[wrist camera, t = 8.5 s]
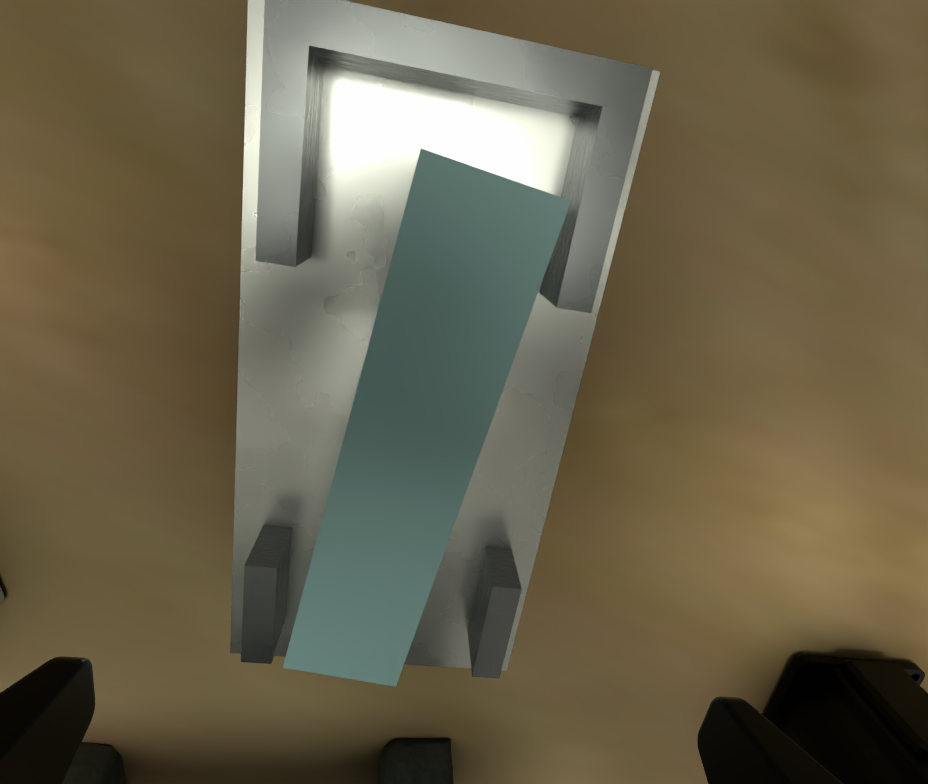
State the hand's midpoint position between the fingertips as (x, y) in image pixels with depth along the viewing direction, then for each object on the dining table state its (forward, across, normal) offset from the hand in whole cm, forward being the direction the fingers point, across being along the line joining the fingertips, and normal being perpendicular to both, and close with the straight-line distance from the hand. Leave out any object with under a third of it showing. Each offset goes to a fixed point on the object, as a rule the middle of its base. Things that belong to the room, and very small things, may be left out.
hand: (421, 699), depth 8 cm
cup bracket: (+12, 0, 0) cm, 12 cm away
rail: (+11, 0, 0) cm, 11 cm away
